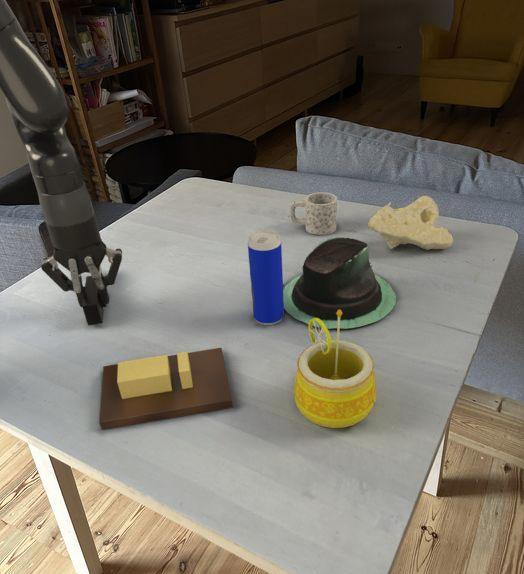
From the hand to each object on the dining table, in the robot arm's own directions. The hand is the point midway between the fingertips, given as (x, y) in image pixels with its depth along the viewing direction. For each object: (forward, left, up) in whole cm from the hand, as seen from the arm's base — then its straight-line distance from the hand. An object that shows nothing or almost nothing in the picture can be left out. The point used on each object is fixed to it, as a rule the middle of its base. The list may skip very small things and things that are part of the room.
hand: (95, 306), depth 94 cm
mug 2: (+34, -32, -1) cm, 47 cm away
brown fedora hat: (+42, -7, -1) cm, 43 cm away
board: (+11, -24, -1) cm, 26 cm away
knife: (0, +5, -1) cm, 5 cm away
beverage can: (+29, -10, -1) cm, 31 cm away
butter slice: (+14, -24, 0) cm, 28 cm away
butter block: (+9, -24, 0) cm, 25 cm away
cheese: (+60, +6, -1) cm, 60 cm away
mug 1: (+45, +21, -1) cm, 50 cm away
